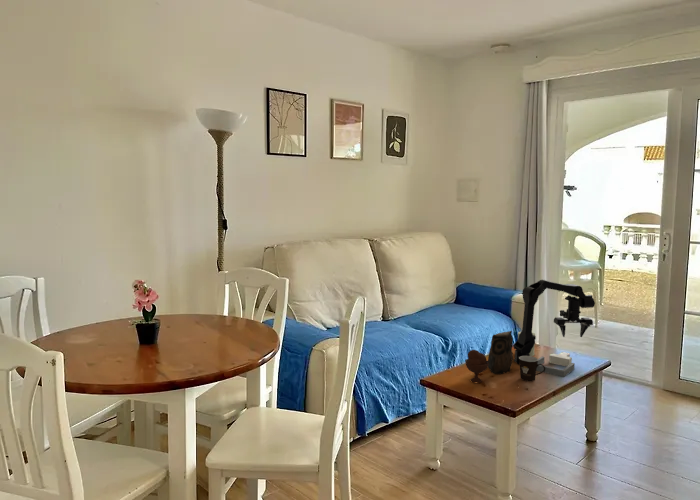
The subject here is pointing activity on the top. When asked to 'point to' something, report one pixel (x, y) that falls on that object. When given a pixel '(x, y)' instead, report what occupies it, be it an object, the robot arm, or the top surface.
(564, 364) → the t block
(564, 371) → the bay
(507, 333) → the owl
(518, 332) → the can
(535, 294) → the robot arm
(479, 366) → the ice cream bowl
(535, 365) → the coffee mug
